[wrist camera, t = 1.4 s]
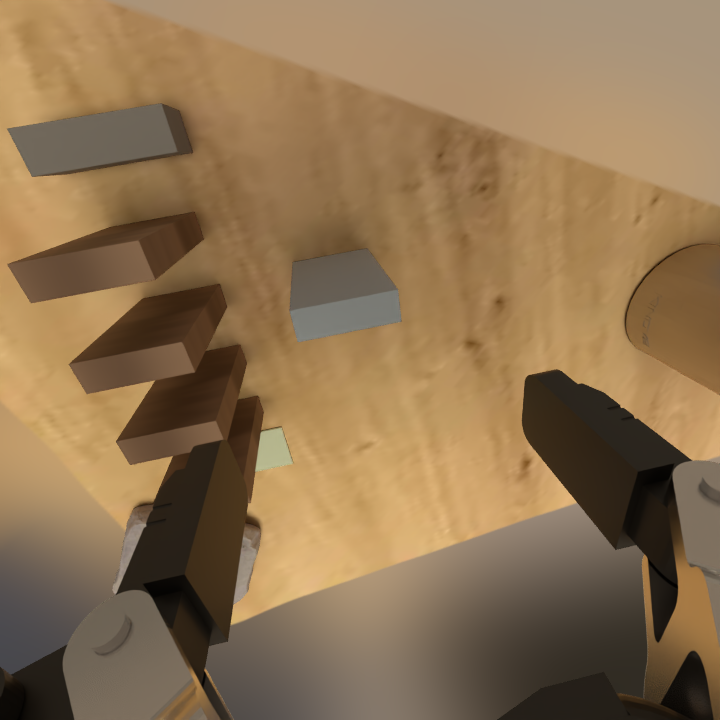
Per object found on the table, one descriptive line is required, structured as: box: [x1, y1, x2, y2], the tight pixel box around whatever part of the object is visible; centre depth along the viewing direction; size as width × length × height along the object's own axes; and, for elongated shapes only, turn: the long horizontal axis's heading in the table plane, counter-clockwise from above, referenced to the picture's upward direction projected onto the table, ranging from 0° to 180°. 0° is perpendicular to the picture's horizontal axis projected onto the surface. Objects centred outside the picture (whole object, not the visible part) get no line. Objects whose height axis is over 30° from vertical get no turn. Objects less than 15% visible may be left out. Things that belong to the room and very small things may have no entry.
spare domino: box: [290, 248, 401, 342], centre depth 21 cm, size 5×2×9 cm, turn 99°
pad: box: [255, 427, 293, 472], centre depth 32 cm, size 7×4×1 cm, turn 99°
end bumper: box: [7, 103, 193, 177], centre depth 19 cm, size 7×2×3 cm, turn 99°
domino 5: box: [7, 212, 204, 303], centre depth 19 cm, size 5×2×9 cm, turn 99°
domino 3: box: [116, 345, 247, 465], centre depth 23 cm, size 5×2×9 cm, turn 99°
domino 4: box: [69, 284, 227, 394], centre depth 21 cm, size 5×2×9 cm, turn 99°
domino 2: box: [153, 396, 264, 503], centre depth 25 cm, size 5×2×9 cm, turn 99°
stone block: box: [113, 504, 261, 604], centre depth 34 cm, size 12×5×10 cm
